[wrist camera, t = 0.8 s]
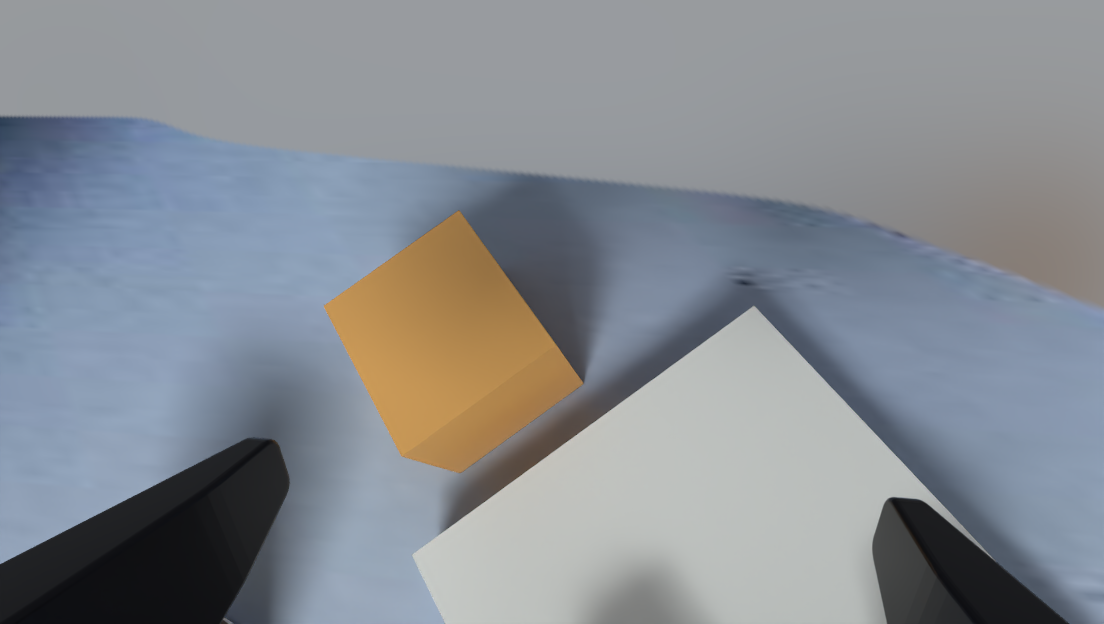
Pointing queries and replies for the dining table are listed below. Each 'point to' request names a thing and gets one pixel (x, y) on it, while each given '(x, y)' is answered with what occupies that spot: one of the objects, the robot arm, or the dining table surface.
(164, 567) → the robot arm
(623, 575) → the board
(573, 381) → the orange block
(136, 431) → the dining table surface
